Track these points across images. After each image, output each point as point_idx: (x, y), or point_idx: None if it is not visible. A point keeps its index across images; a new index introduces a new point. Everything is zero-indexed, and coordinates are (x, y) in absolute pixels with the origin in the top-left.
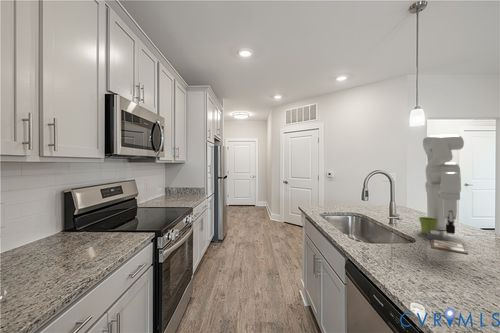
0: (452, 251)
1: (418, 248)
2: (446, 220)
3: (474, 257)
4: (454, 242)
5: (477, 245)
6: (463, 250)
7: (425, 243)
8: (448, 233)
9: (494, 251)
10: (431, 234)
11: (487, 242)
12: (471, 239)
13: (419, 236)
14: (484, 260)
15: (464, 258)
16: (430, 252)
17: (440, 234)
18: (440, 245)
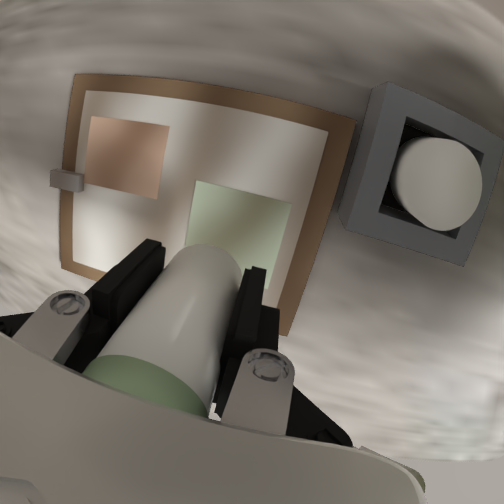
0: (65, 194)
1: (52, 10)
2: (119, 363)
3: (41, 276)
4: (293, 283)
5: (303, 392)
6: (90, 263)
7: (188, 39)
8: (175, 256)
9: (210, 412)
10: (377, 122)
11: (381, 438)
12: (429, 398)
13: (428, 52)
14: (30, 299)
15: (5, 222)
16: (12, 73)
17: (405, 222)
18: (125, 138)
